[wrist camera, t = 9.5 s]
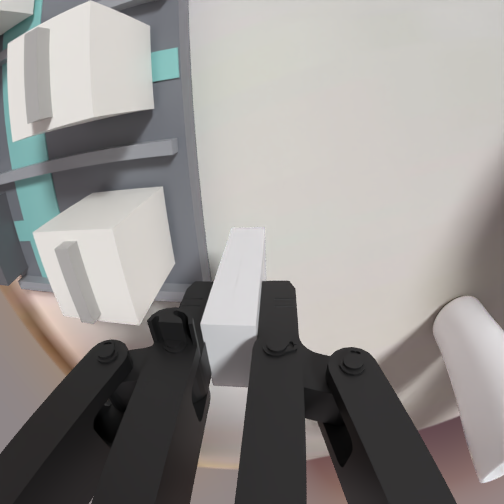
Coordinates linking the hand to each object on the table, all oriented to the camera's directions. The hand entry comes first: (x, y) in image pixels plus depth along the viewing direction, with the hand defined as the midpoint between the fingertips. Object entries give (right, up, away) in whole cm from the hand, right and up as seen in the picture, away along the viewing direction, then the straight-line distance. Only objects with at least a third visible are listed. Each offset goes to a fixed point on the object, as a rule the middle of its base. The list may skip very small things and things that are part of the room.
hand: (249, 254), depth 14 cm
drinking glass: (+18, -6, +8) cm, 21 cm away
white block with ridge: (-8, +10, -1) cm, 13 cm away
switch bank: (-13, +11, +2) cm, 17 cm away
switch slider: (-7, +2, +4) cm, 8 cm away
